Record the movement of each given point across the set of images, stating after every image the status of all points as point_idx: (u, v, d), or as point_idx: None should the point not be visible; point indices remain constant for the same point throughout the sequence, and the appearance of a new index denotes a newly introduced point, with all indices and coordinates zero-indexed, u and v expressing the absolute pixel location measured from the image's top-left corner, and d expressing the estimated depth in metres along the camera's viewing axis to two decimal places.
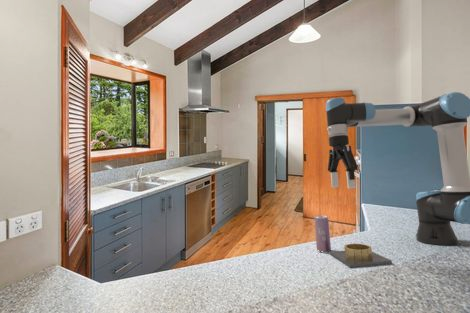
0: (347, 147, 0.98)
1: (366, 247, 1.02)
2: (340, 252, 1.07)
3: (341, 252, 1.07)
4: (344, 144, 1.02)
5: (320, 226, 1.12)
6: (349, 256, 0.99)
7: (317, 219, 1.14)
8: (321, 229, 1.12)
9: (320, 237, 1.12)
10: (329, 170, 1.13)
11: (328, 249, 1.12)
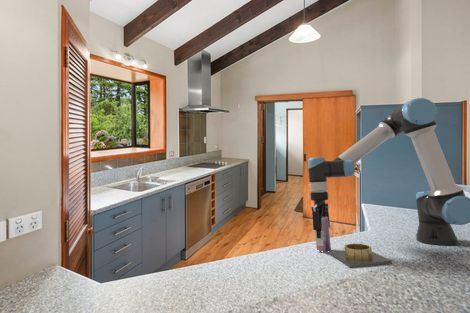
0: (313, 209, 1.11)
1: (366, 247, 1.02)
2: (340, 252, 1.07)
3: (341, 252, 1.07)
4: (317, 201, 1.13)
5: None
6: (349, 256, 0.99)
7: None
8: (321, 229, 1.12)
9: None
10: None
11: (328, 249, 1.12)
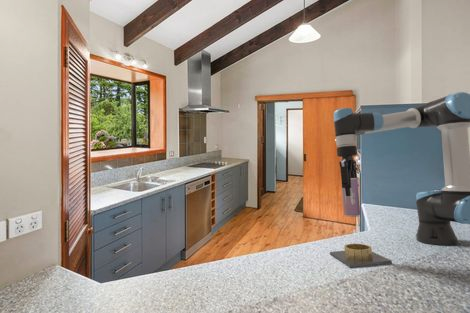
0: (342, 163, 1.00)
1: (366, 247, 1.02)
2: (340, 252, 1.07)
3: (341, 252, 1.07)
4: (345, 155, 1.02)
5: None
6: (349, 256, 0.99)
7: None
8: None
9: (348, 200, 1.01)
10: None
11: (357, 213, 1.00)
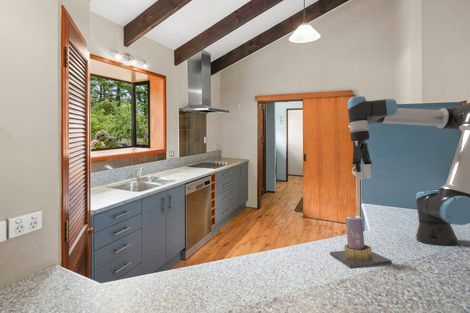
0: (355, 142, 1.10)
1: (366, 247, 1.02)
2: (340, 252, 1.07)
3: (341, 252, 1.07)
4: (358, 139, 1.12)
5: (353, 228, 0.99)
6: (349, 256, 0.99)
7: (349, 220, 1.00)
8: (354, 231, 0.99)
9: (353, 240, 0.99)
10: None
11: None
